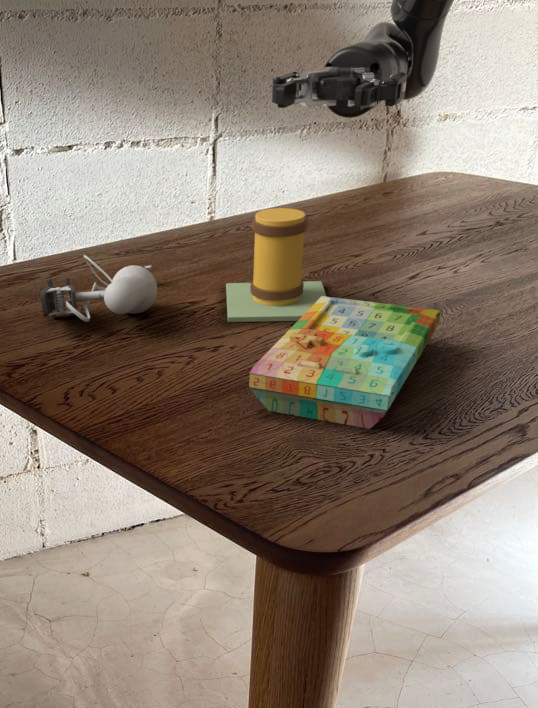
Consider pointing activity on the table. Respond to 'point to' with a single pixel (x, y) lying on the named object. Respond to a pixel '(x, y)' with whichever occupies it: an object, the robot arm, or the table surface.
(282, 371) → the puzzle game
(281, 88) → the robot arm
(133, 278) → the clip-on lamp
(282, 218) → the stacking piece
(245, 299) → the green mat
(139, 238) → the table surface
